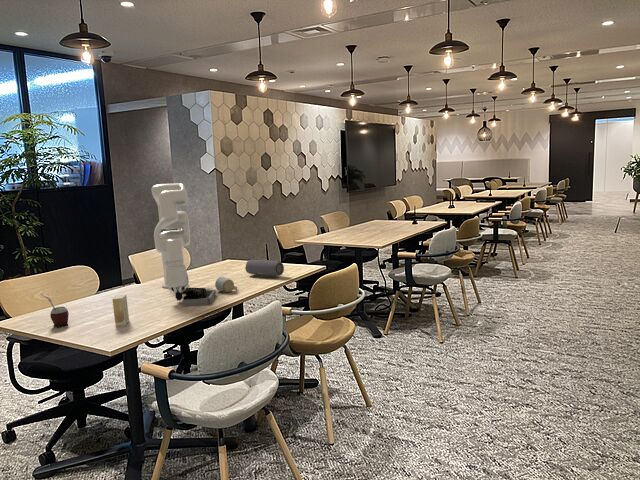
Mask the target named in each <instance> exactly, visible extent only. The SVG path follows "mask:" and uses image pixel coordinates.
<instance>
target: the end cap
mask: <svg viewBox="0 0 640 480" xmlns="http://www.w3.org/2000/svg"><path fill="white" fill-rule="evenodd" d="M207 290H208V289H206V287H188V288H186V289H184V290H183V291H182V296H183V295H185V296H183V298H182V300H188V299H203V298H207V297H208V296H207Z"/></svg>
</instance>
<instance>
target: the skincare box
mask: <svg viewBox="0 0 640 480" xmlns="http://www.w3.org/2000/svg"><path fill="white" fill-rule="evenodd" d="M112 307H113V308H112V309H113V314H114V324H115V327H119V326H120V327H121V326H123V327H124V326H126V325H128V323H130V317H129V306H128V298H127V294H119V295H118V294H117V295H115V296H114V297H113V298H112Z"/></svg>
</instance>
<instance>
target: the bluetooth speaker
mask: <svg viewBox="0 0 640 480" xmlns="http://www.w3.org/2000/svg"><path fill="white" fill-rule="evenodd" d="M244 269H245V271H246V273H247V274H250V275H255V276H257V277H259V278H273V277H281V276H282V275H283V273H284V272H285V266H284V264H283V262H282V261H278V260H269V259H249V260H247V261H246V263H245V267H244Z"/></svg>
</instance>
